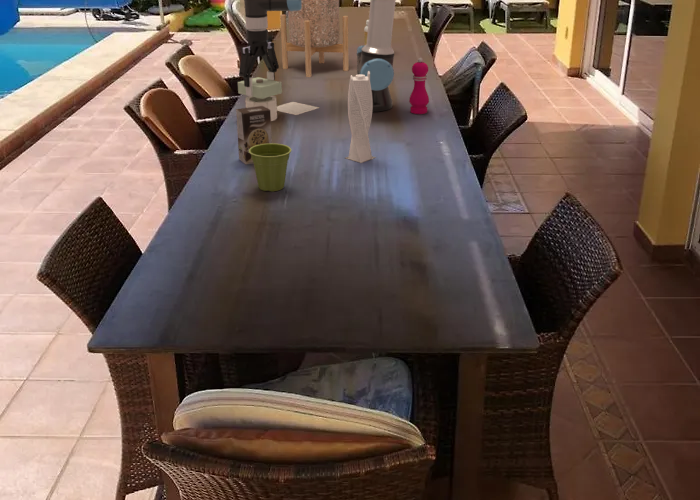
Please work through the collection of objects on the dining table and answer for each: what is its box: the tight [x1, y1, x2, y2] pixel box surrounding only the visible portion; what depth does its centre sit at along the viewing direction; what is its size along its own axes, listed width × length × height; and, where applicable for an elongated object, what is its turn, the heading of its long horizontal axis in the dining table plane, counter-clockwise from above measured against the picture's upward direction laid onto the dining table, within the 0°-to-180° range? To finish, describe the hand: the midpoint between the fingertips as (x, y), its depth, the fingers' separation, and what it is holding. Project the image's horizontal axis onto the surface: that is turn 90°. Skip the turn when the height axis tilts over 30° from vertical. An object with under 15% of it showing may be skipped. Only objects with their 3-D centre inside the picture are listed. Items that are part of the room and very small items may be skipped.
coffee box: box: [235, 106, 273, 165], centre depth 242 cm, size 9×6×16 cm
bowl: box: [244, 95, 278, 122], centre depth 284 cm, size 11×11×8 cm
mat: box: [277, 101, 320, 116], centre depth 298 cm, size 14×13×1 cm
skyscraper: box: [344, 71, 377, 164], centre depth 239 cm, size 8×8×28 cm
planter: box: [280, 0, 350, 78], centre depth 352 cm, size 22×23×32 cm
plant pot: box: [249, 142, 292, 192], centre depth 221 cm, size 12×12×11 cm
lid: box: [237, 76, 283, 99], centre depth 281 cm, size 12×10×5 cm
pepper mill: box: [408, 57, 430, 115], centre depth 289 cm, size 7×7×20 cm
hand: (260, 92), depth 282 cm, fingers closed on lid, 10 cm apart
